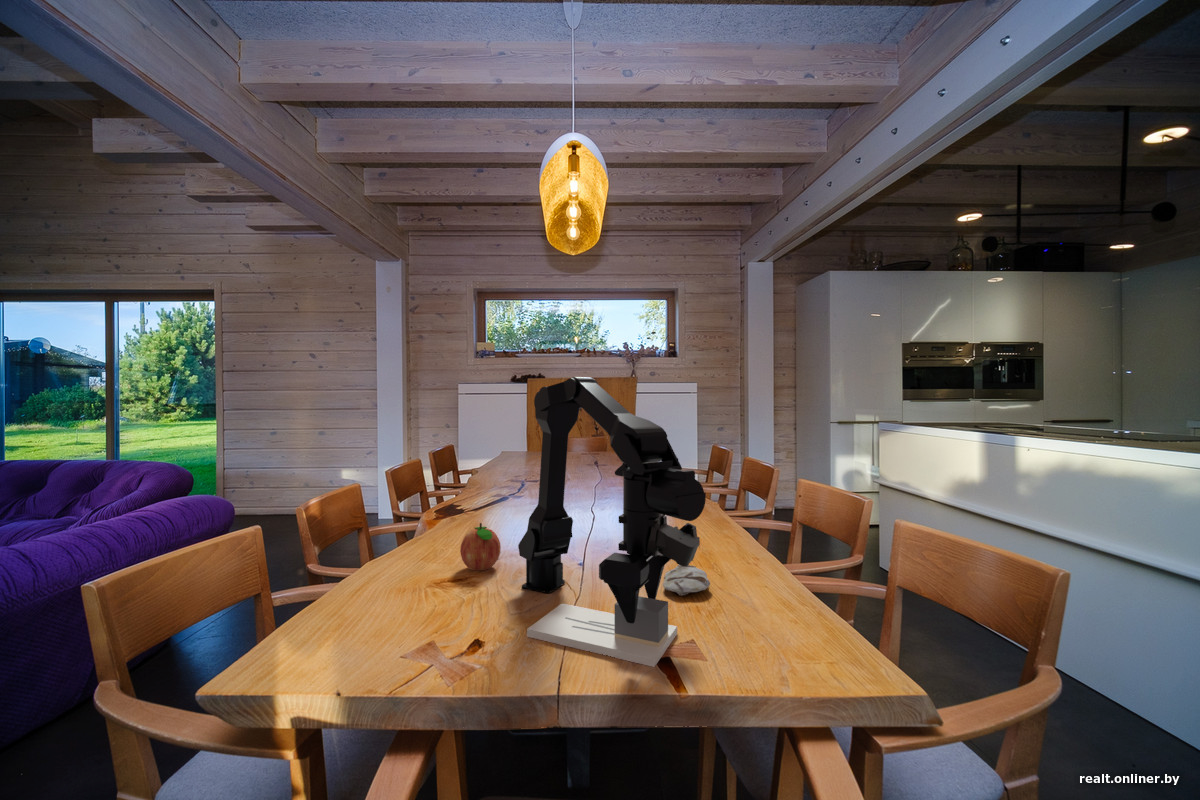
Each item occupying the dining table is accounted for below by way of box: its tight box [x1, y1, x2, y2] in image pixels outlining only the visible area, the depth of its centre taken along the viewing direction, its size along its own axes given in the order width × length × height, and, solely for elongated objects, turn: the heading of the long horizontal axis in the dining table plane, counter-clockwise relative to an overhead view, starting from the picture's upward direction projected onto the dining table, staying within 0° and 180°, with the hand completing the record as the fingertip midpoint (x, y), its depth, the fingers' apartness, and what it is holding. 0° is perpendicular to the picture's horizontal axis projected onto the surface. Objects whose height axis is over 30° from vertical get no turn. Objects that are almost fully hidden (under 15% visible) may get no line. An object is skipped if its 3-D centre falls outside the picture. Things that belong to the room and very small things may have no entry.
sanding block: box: [614, 595, 669, 647], centre depth 77 cm, size 7×4×5 cm, turn 65°
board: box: [526, 603, 678, 668], centre depth 80 cm, size 21×11×1 cm, turn 65°
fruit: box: [459, 522, 501, 571], centre depth 111 cm, size 9×10×10 cm
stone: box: [662, 564, 711, 596], centre depth 100 cm, size 12×9×3 cm
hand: (641, 610), depth 77 cm, fingers open, 9 cm apart
